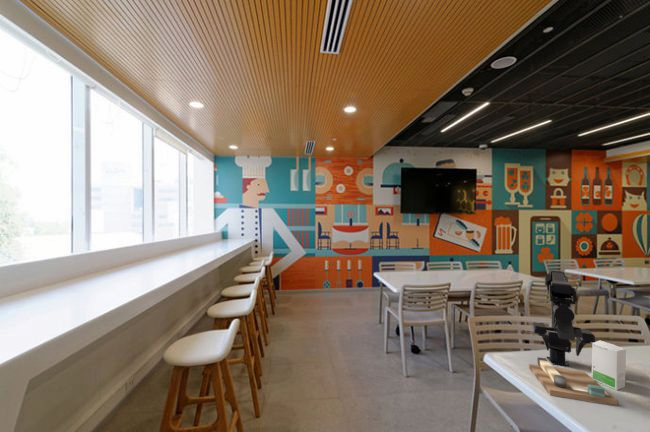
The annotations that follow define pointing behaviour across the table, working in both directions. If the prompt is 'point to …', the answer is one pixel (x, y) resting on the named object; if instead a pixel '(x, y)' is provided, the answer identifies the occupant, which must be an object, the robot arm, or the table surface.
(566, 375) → the tan wooden flat tray
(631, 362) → the table surface
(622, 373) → the skincare box
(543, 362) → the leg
